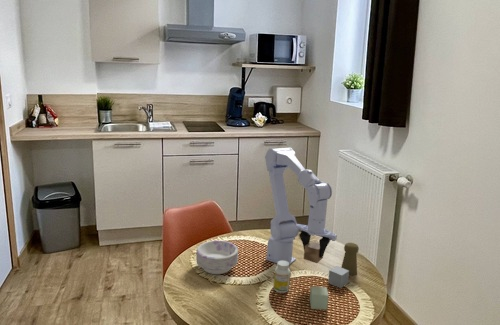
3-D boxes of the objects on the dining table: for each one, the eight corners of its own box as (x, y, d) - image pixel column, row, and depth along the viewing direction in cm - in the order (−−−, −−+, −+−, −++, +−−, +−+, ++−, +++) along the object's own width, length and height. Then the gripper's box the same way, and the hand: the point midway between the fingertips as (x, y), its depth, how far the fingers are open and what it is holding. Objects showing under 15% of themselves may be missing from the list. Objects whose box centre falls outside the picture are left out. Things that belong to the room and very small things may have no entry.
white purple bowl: (189, 274, 146) (189, 253, 145) (205, 256, 161) (205, 237, 159) (230, 282, 143) (230, 261, 141) (242, 262, 157) (243, 243, 155)
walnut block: (303, 259, 143) (304, 245, 142) (309, 254, 147) (310, 241, 146) (316, 263, 140) (318, 249, 139) (322, 258, 144) (324, 244, 143)
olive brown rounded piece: (357, 276, 151) (360, 248, 149) (340, 273, 152) (343, 246, 150) (356, 268, 157) (359, 241, 154) (340, 266, 158) (343, 239, 155)
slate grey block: (328, 283, 145) (329, 270, 144) (335, 278, 149) (336, 265, 148) (340, 288, 142) (341, 275, 141) (347, 283, 146) (349, 270, 145)
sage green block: (311, 308, 129) (312, 294, 128) (309, 300, 134) (310, 286, 133) (327, 310, 129) (328, 295, 128) (325, 301, 134) (326, 287, 133)
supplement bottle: (283, 295, 136) (285, 268, 134) (270, 289, 139) (272, 263, 137) (292, 289, 140) (294, 263, 138) (279, 283, 143) (281, 257, 141)
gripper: (292, 215, 141) (289, 252, 144) (332, 226, 133) (328, 264, 136) (301, 210, 146) (298, 245, 149) (340, 220, 139) (336, 257, 142)
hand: (313, 254), depth 143 cm, fingers closed on walnut block, 5 cm apart
